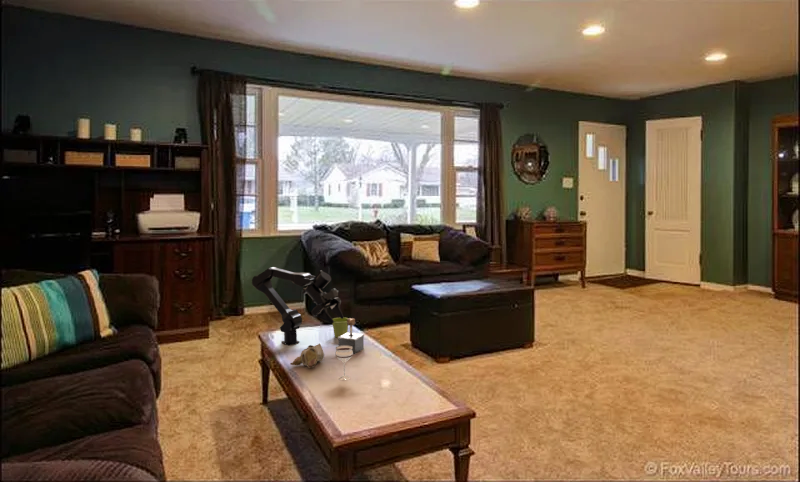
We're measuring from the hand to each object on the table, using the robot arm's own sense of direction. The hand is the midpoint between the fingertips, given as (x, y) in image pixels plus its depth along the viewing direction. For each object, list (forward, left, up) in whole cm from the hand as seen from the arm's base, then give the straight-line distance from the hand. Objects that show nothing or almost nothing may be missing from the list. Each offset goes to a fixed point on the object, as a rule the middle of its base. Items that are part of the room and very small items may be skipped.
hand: (338, 320), depth 234 cm
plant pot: (-16, +13, -14) cm, 25 cm away
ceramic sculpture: (+10, -22, -14) cm, 27 cm away
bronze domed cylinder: (+6, +3, -8) cm, 10 cm away
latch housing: (+6, +3, -13) cm, 15 cm away
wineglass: (+32, -20, -14) cm, 40 cm away
